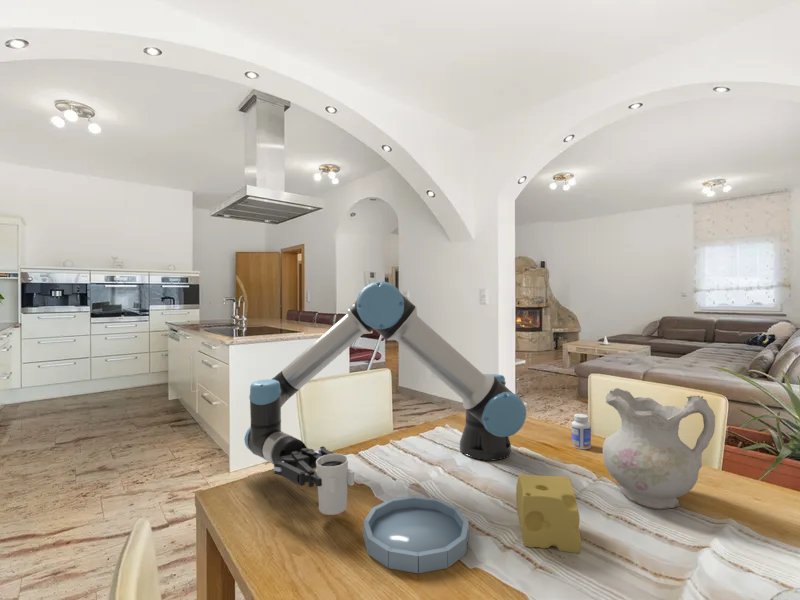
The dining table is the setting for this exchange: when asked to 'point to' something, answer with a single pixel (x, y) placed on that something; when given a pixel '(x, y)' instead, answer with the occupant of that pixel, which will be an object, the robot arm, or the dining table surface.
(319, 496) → the white coffee cup
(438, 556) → the blue round tray
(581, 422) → the pill bottle
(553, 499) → the cheese
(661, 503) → the ceramic pitcher
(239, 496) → the dining table surface
